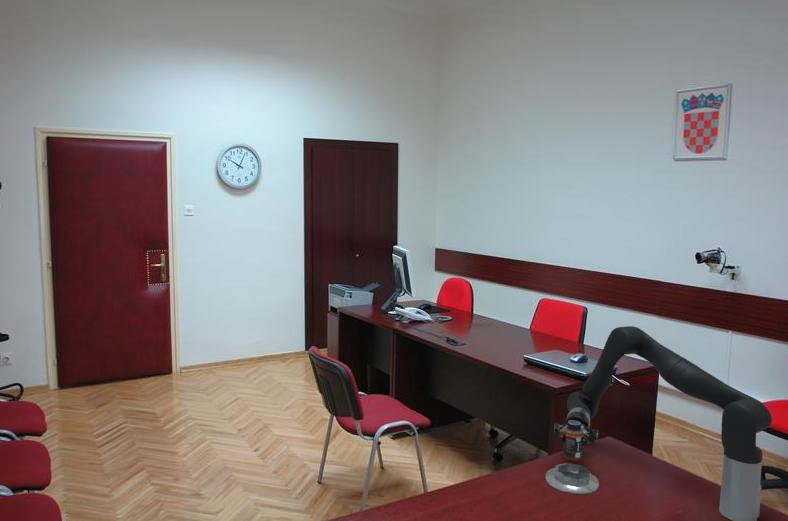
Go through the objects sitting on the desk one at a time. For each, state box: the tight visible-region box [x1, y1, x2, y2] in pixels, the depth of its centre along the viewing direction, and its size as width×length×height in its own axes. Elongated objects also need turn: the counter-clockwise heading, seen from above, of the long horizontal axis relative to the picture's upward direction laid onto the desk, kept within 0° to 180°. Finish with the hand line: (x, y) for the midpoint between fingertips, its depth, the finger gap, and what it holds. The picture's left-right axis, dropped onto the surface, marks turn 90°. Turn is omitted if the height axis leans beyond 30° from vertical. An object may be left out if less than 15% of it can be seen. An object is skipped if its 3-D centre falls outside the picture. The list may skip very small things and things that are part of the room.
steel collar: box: [545, 462, 600, 495], centre depth 182 cm, size 16×16×4 cm
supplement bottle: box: [562, 420, 584, 461], centre depth 181 cm, size 6×6×11 cm
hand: (572, 441), depth 179 cm, fingers closed on supplement bottle, 6 cm apart
